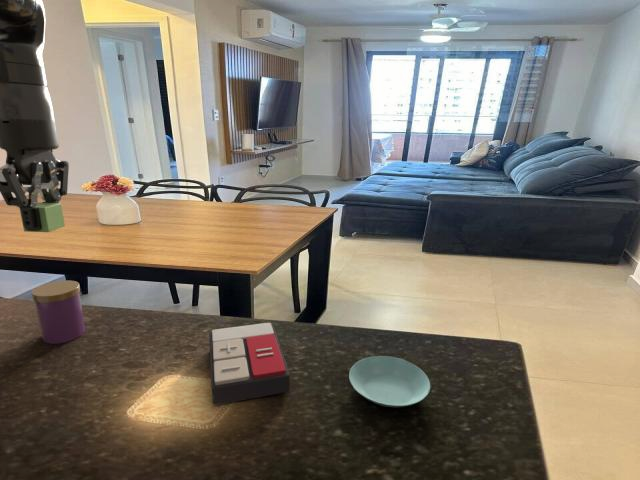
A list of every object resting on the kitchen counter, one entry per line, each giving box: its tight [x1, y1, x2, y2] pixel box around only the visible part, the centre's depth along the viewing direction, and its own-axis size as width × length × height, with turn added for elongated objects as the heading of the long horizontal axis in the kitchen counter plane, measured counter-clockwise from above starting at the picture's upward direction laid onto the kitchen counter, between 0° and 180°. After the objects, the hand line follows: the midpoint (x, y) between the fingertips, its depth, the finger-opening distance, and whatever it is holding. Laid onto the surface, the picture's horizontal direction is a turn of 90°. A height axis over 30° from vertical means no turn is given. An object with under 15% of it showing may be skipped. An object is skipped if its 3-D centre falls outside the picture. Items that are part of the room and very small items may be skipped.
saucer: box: [348, 355, 431, 408], centre depth 57 cm, size 12×12×2 cm
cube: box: [19, 201, 66, 233], centre depth 62 cm, size 4×4×4 cm
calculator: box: [208, 322, 291, 406], centre depth 60 cm, size 11×4×15 cm
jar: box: [31, 279, 86, 345], centre depth 68 cm, size 7×7×9 cm
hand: (44, 226), depth 62 cm, fingers closed on cube, 4 cm apart
